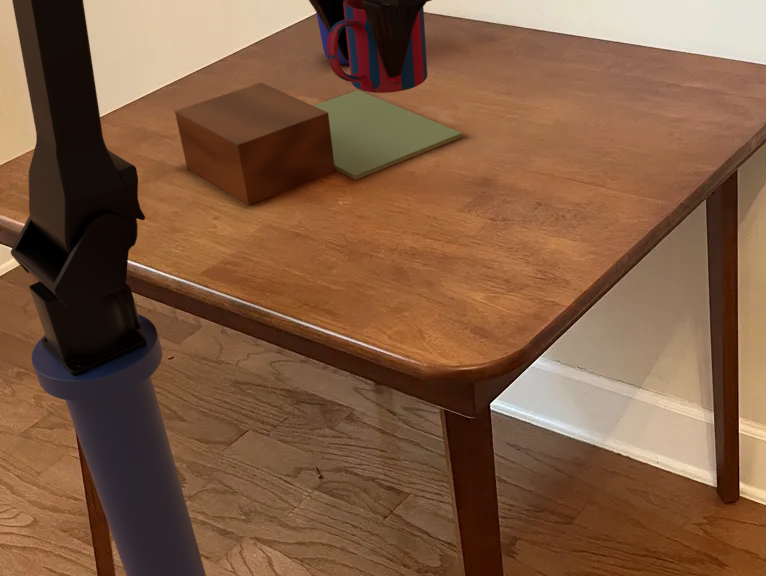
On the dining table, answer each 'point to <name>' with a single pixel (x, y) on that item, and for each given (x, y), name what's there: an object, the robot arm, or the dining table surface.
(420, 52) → the cup
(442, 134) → the mat
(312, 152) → the step
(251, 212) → the dining table surface
